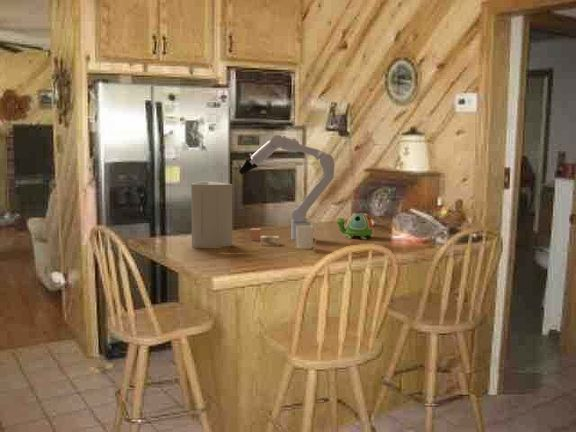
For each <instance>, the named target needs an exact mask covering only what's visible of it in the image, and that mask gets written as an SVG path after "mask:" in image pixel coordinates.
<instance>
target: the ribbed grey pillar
mask: <svg viewBox="0 0 576 432" xmlns="http://www.w3.org/2000/svg"><path fill="white" fill-rule="evenodd" d="M190 192H191V201H190V202H191V247H192V248H195V249H196V248H197V249H198V248H199V249H200V248H201V249H222V248H223V247H231V246H233V184H231V183H225V182H218V181H217V182H216V181H198V182H195V183H194V182H193V183H191V191H190Z"/></svg>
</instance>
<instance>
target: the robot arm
mask: <svg viewBox="0 0 576 432" xmlns="http://www.w3.org/2000/svg"><path fill="white" fill-rule="evenodd" d="M278 148H281V150H284V151H288V152H291V153H297V152H299V153H303V154H307V155H310V156H313V157H314V158H315V159H316V160H317V161H319V164H320V166H321V168H322V173H323V174H322V175H323V176H322V177H321V178H320V179H319V181H318V182H317V183H316V184H315V186H314V187H313V188H312V189H311V191H309V193H308V194H307V196H306V197H305V198H304V199H303V201H301V203H300V204H299V205H298V206H296V207H294V209H293V211H292V212H291V218H292V219H291V220H290V222H291V224H290V233H291V234H290V237H291V238H290V239H292V240H295V241H296V226H299V225H309V226H311V221H307V219H306V218H305V217H306V214H307V212H308V211H309V210H310V209H311V207H312V206H313V205H314V203H315V202H316V201H317V199H318V198H319V197H320V196H321V195H322V193H323V192H324V191H325V190H326V188H327V187H328V185H330V183H331V182H332V181H333V180H334V177H335V161H334V158H333V156H332V155H331V154H329V153H327V152H324V151H323V150H320V149H317V148H314V147H313V148H312V147H309V146H306V145H304V144H300V142H299V141H298V140H297V139H296V138H293V139H292V138H289V137H287V136H286V135H283V136H281V135H280V134H275V135H273V136H272V137H271V139H269V140H267V142H265V143H264V144H263V145H262V146H260V148H258V149H257V150H256V151H255V152H254V153H253V154H252V153H249V156H250V158H246V160H245V162H244V164H243V165H242V166H241V167H240V169H239V170H238V173H239V174H241V175H244V174H246V173H248V172H250V171H251V170H253V169H257V168H258V167H260V165H261V164H262V163H263V162H265V161H266V160H267V159H268V158H269V157H270V156H271V155H272V154H273V153H274V152H275V151H276V150H277V149H278Z"/></svg>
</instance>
